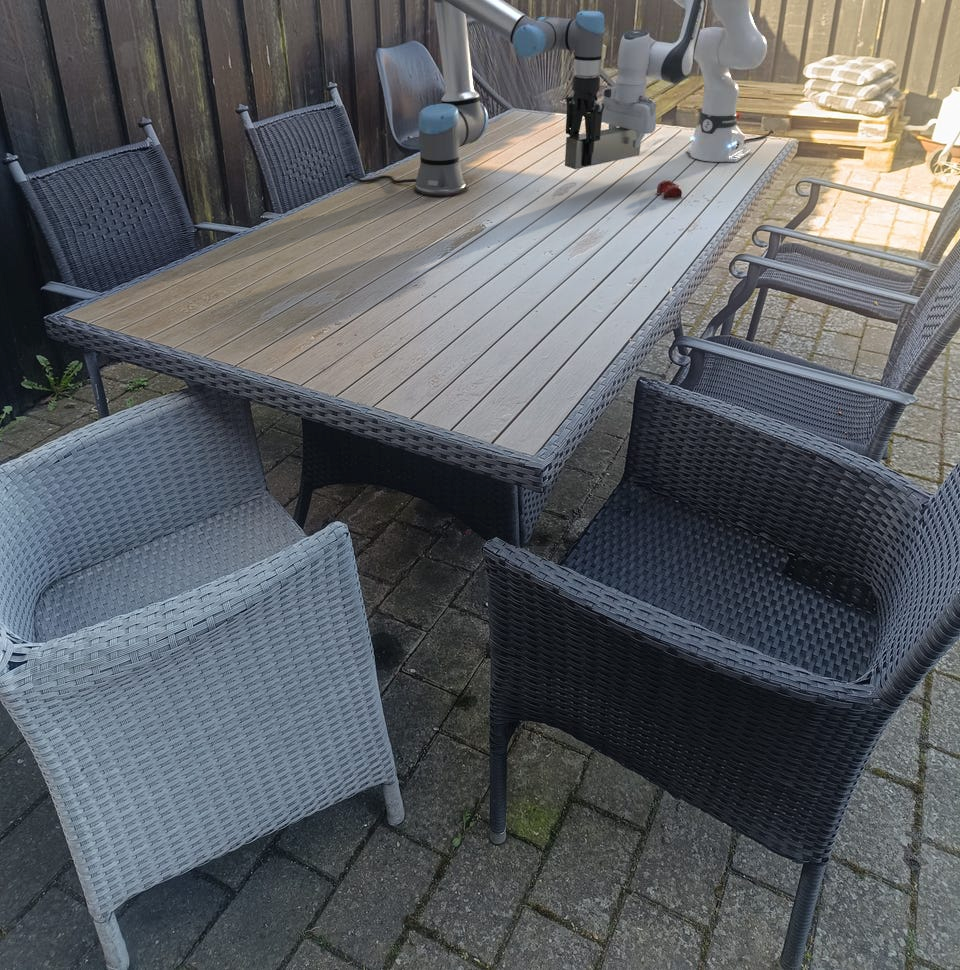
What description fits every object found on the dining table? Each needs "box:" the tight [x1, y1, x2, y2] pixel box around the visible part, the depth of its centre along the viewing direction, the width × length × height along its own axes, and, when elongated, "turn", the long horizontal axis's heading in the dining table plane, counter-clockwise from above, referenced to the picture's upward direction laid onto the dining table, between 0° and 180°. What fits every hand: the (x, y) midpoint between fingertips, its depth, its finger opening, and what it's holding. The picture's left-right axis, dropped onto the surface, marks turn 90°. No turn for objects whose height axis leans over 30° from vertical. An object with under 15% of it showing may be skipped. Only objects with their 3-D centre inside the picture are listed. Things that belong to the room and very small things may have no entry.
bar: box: [564, 126, 642, 170], centre depth 248 cm, size 26×5×8 cm, turn 126°
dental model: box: [656, 180, 683, 200], centre depth 252 cm, size 6×4×8 cm
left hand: (580, 163), depth 245 cm, fingers closed on bar, 5 cm apart
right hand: (624, 143), depth 252 cm, fingers open, 8 cm apart
